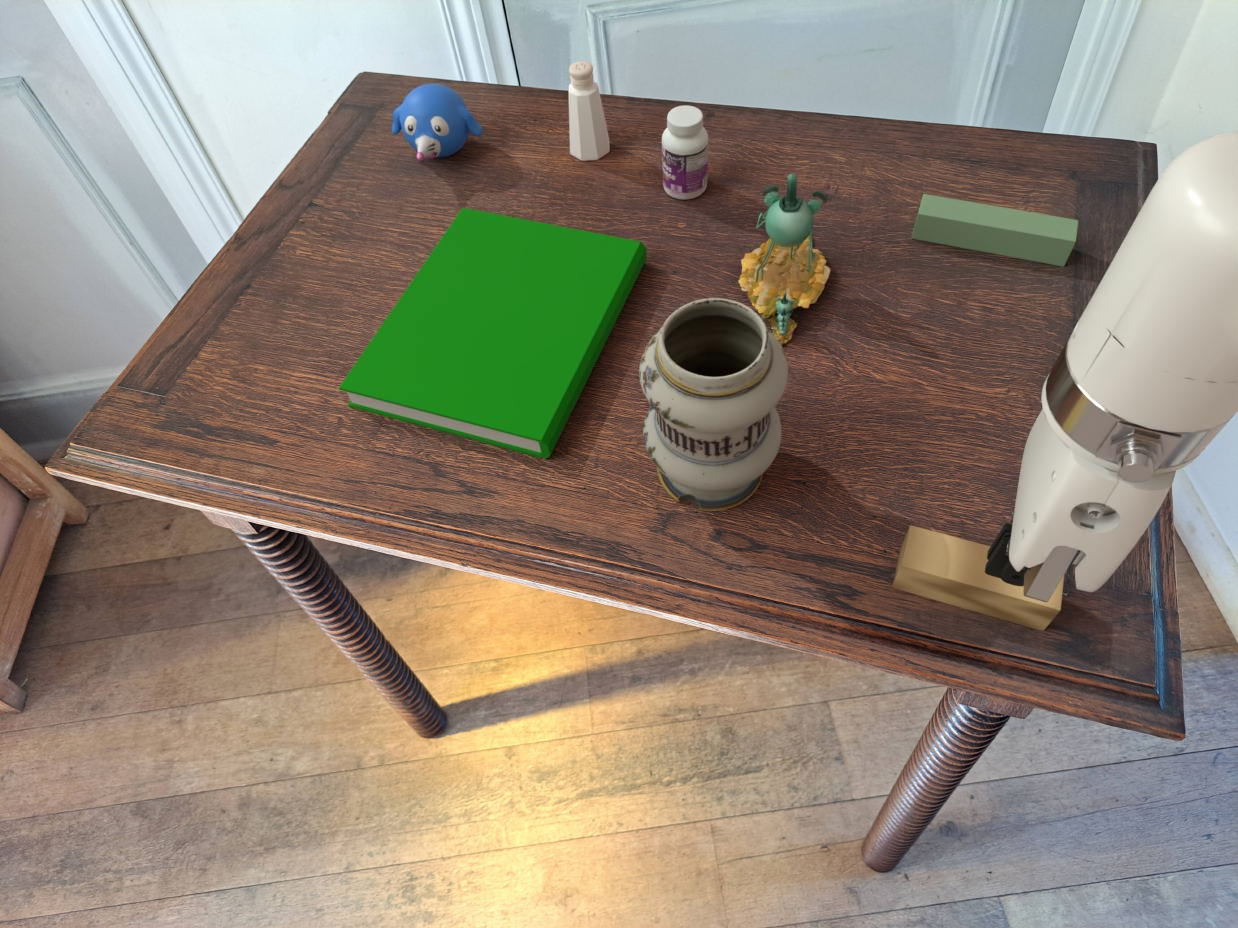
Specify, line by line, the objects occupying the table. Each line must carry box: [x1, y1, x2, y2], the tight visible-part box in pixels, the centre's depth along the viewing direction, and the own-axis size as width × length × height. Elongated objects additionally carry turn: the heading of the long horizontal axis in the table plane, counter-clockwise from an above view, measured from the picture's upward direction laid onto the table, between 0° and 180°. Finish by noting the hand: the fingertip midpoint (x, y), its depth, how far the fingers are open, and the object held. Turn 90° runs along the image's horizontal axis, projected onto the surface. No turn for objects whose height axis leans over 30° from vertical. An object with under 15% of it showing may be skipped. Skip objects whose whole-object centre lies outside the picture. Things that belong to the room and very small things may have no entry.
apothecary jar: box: [638, 297, 789, 512], centre depth 72 cm, size 12×12×18 cm
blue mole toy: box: [390, 83, 484, 162], centre depth 106 cm, size 12×12×8 cm
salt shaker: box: [568, 60, 611, 162], centre depth 104 cm, size 5×5×11 cm
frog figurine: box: [738, 173, 831, 346], centre depth 87 cm, size 10×18×15 cm, turn 159°
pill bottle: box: [661, 104, 709, 201], centre depth 99 cm, size 5×5×10 cm
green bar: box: [910, 193, 1079, 267], centre depth 92 cm, size 16×4×4 cm, turn 69°
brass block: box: [891, 524, 1065, 632], centre depth 69 cm, size 12×4×4 cm, turn 69°
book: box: [338, 207, 648, 460], centre depth 90 cm, size 22×28×3 cm
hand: (1010, 570), depth 56 cm, fingers closed
